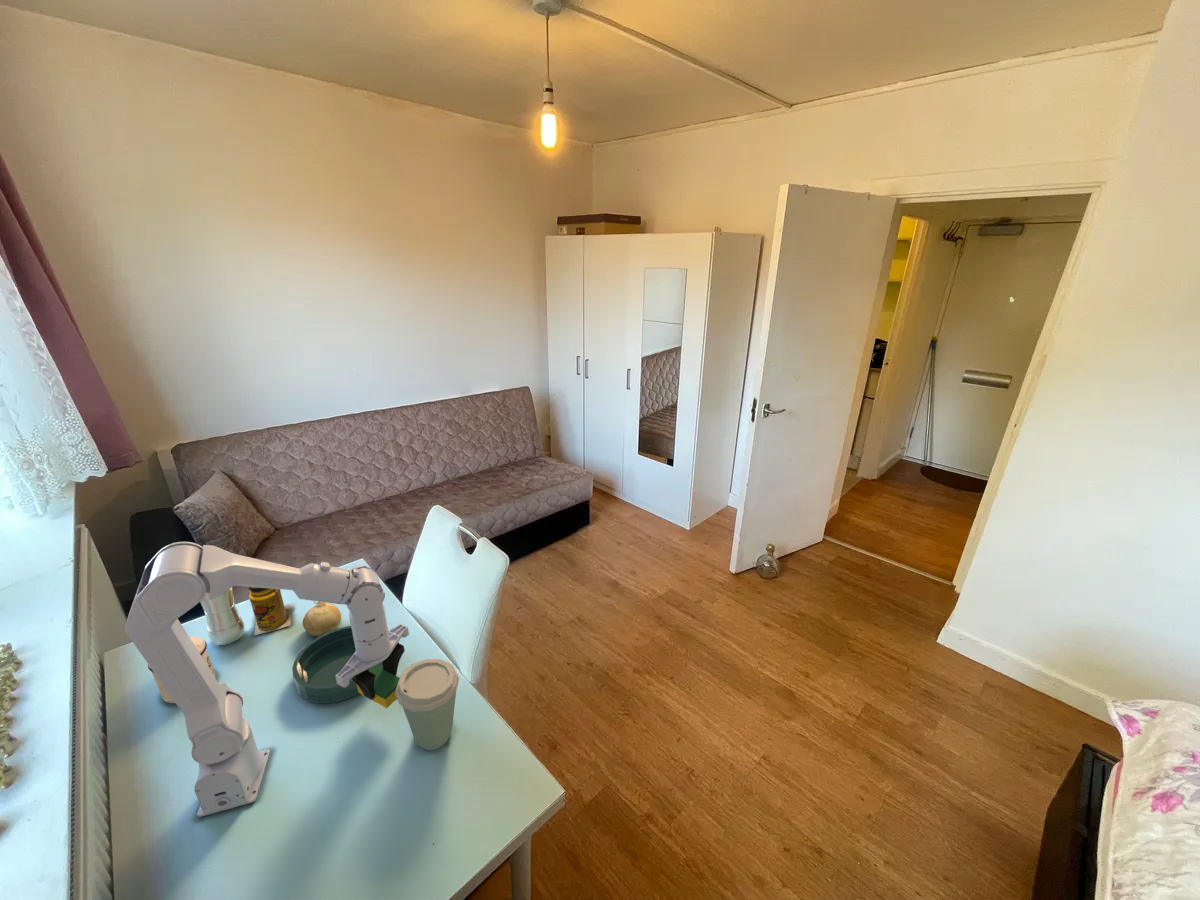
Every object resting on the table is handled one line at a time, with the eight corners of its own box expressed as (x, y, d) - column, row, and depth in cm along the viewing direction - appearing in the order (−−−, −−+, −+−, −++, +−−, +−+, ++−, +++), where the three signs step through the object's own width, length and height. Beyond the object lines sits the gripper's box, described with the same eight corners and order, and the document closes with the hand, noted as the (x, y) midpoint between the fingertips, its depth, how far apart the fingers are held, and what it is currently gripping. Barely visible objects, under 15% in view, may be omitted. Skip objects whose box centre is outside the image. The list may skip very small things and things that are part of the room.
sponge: (405, 691, 94) (403, 679, 93) (386, 708, 90) (384, 696, 89) (377, 676, 97) (375, 665, 96) (358, 693, 93) (356, 681, 92)
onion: (350, 623, 118) (345, 599, 116) (322, 645, 111) (316, 620, 109) (326, 614, 121) (321, 590, 118) (297, 635, 114) (291, 611, 111)
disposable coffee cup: (442, 701, 98) (435, 644, 93) (475, 733, 92) (470, 673, 87) (393, 738, 91) (382, 677, 85) (425, 775, 84) (416, 712, 79)
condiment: (254, 636, 113) (241, 594, 109) (257, 613, 120) (246, 573, 116) (290, 626, 117) (279, 585, 112) (292, 605, 124) (282, 565, 119)
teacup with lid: (225, 682, 101) (210, 638, 97) (170, 713, 94) (152, 667, 90) (201, 656, 107) (186, 614, 103) (148, 684, 100) (130, 639, 96)
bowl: (385, 692, 100) (382, 676, 98) (287, 715, 94) (283, 698, 93) (390, 633, 115) (387, 618, 114) (305, 650, 110) (302, 634, 108)
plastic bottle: (214, 633, 114) (191, 561, 106) (249, 625, 117) (228, 554, 109) (207, 652, 108) (182, 577, 101) (244, 643, 111) (222, 570, 104)
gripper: (386, 600, 96) (395, 654, 101) (318, 649, 84) (332, 707, 89) (413, 612, 93) (420, 666, 98) (347, 664, 81) (359, 723, 86)
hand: (380, 686), depth 93 cm, fingers closed on sponge, 4 cm apart
